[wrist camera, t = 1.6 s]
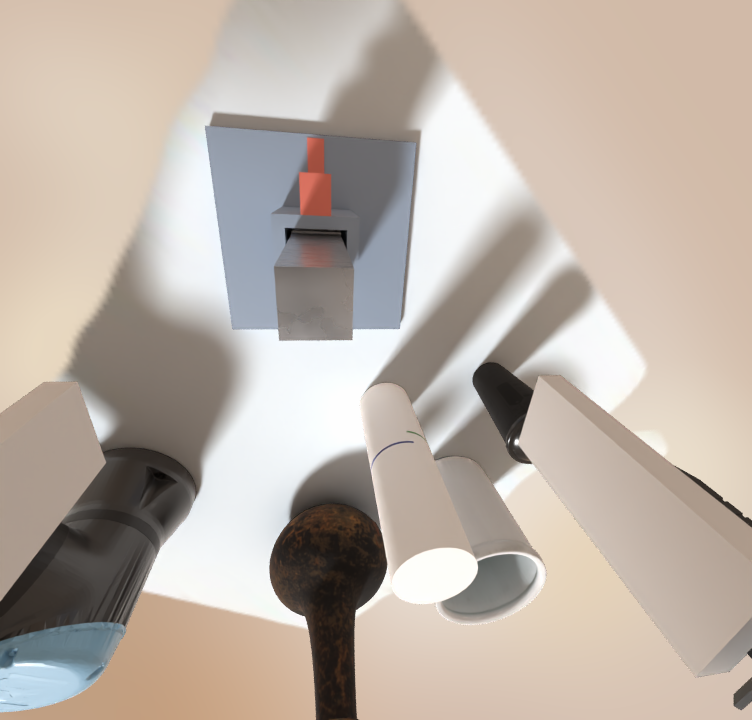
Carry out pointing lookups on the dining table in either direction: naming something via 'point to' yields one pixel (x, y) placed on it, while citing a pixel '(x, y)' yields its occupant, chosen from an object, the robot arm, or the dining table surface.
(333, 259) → the column
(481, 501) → the utensil holder
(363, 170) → the stand
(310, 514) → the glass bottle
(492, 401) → the drinking cup
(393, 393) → the cylindrical container
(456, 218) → the dining table surface
